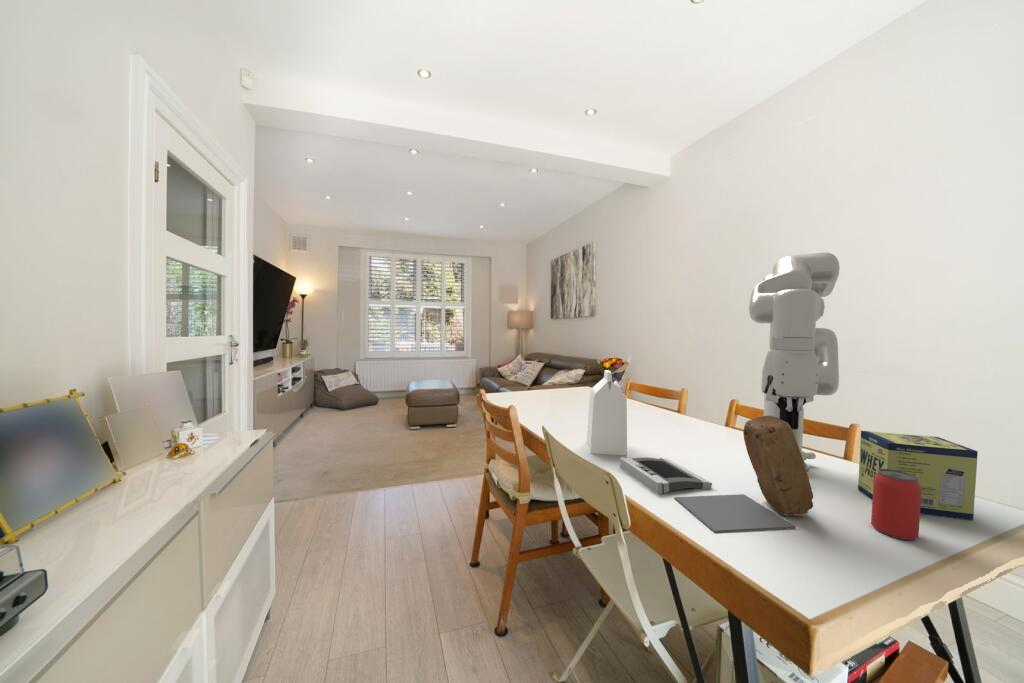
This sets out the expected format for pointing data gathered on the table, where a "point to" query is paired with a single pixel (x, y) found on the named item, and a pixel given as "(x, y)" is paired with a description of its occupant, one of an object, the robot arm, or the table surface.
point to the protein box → (923, 470)
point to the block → (778, 465)
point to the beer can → (896, 504)
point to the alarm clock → (662, 474)
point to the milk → (607, 418)
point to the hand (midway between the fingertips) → (788, 427)
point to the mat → (732, 513)
